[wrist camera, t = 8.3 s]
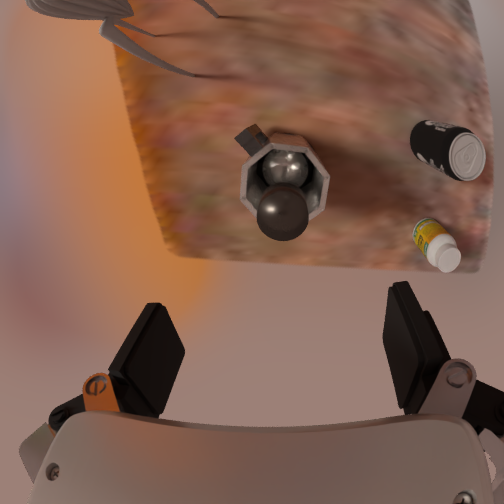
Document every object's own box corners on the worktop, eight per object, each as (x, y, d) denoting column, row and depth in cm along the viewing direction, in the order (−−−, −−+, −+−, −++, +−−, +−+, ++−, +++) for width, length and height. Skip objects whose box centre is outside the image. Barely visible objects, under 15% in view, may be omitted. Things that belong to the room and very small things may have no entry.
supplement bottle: (441, 238, 41) (466, 267, 33) (416, 251, 43) (437, 283, 35) (434, 211, 39) (462, 237, 31) (407, 224, 41) (431, 253, 33)
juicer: (242, 37, 31) (144, -74, 5) (193, 77, 35) (27, 58, 9) (196, -4, 28) (69, -100, 2) (151, 36, 32) (-14, -1, 5)
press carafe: (330, 171, 39) (345, 196, 29) (280, 206, 43) (277, 243, 32) (278, 106, 36) (274, 105, 25) (228, 146, 39) (205, 162, 29)
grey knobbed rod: (304, 143, 35) (317, 174, 20) (310, 186, 38) (324, 247, 23) (259, 150, 37) (236, 185, 21) (267, 192, 39) (251, 255, 24)
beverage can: (399, 141, 35) (437, 157, 25) (424, 110, 32) (467, 117, 22) (427, 170, 37) (467, 195, 26) (450, 141, 34) (495, 157, 23)
